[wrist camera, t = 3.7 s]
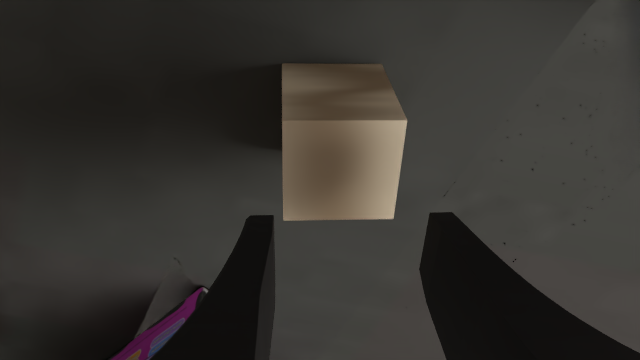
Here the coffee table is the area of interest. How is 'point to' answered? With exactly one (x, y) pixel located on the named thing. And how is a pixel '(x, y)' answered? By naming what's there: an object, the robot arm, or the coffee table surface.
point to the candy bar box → (160, 330)
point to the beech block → (340, 142)
